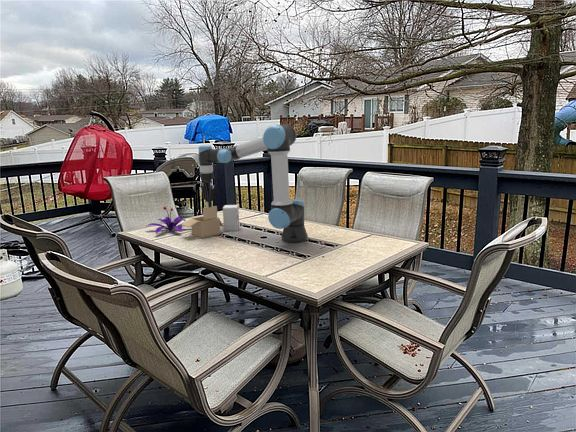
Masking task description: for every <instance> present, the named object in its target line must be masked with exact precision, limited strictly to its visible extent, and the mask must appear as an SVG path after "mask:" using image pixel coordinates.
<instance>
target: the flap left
mask: <svg viewBox="0 0 576 432" xmlns="http://www.w3.org/2000/svg"><path fill="white" fill-rule="evenodd" d="M192 218H193V217H192ZM192 218H189V219H187V220H186V221H184V222H182V223H181V224H182V225H181V226H183V227H186V228H191V226H193V225H194V224H196V223H198V222H199V221H198V220H195V219H192Z"/></svg>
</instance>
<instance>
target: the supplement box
mask: <svg viewBox="0 0 576 432" xmlns="http://www.w3.org/2000/svg"><path fill="white" fill-rule="evenodd" d="M239 210H240V209H239V204H225V205H223V207H222V220H223V221H222V224H223V225H224V227H223V232H237V231H238V230H239V229H240V211H239Z"/></svg>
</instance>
